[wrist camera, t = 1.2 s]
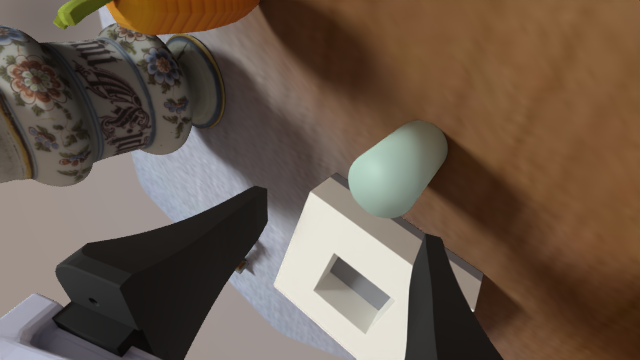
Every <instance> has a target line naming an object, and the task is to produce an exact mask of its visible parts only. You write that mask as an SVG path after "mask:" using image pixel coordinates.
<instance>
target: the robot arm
mask: <svg viewBox="0 0 640 360" xmlns="http://www.w3.org/2000/svg"><path fill="white" fill-rule="evenodd" d="M267 222H268V213H267V189H266V188H262V187H259V186H253V187H251V188H249V189H247V190H245V191H244V192H242V193H240V194H238V195H236V196H234V197H232V198H230V199H228V200H226V201H225V202H223V203H221V204H219V205H217V206H215V207H212V208H210V209H208V210H206V211H204V212H202V213H199V214H197V215H195V216H192V217H190V218H187V219H185V220H182V221H179V222H177V223H174V224H171V225H168V226H164V227H161V228H158V229H155V230H151V231H147V232H144V233H140V234H136V235H131V236H126V237H121V238H117V239H110V240H104V241H98V242H92V243H87V244H86V245H84V246H83V247H82V248H80V249H79V250H78V251H76V252H75V253H73V254H72V255H71V256H69V257H68V258H67V259H65V260H64V261H63V262H61V263H60V264H59V265H57V267H56V271H55V272H56V276H57V278H58V280H59V282H60V284H61V285H62V287H63V288H64V290H65V292H66V293H67V295H68V296H69V298H70V299H71V302H70V303H69V304H68V305H66V306H65V307H63V306H62V305H60V304H59V303H57V302H56V301H54V300H51V299H49V298H47V297H45V296H43V295H40V294H38V293H33V294H32V295H31V296H29V297H28V298H27V299H25V300H24V301H23V302H21V303H20V304H19V305H17V306H16V307H15V308H13V309H12V310H11V311H10V312H8V313H7V314H6V315H4V316H3V317H2V318H0V360H184V358H185V356H186V354H187V352H188V350H189V348H190V346H191V344H192V342H193V340H194V338H195V336H196V335H197V333H198V331H199V329H200V327H201V325H202V323H203V322H204V320H205V318H206V316H207V314H208V312H209V311H210V309H211V307H212V305H213V304H214V302H215V300H216V299H217V297H218V295H219V294H220V292H221V290H222V289H223V287H224V285H225V284H226V282H227V281H228V279H229V278H230V276H231V275H232V274H233V272H234V271H235V270H236V268H237V267H238V266H239V264H240V263H241V262H242V260H243V259H244V258H245V256H246V255H247V254H248V252H249V251H250V250H251V248H252V247H253V246H254V244H255V243H256V241H257V240H258V239H259V237H260V235H261V233H262V232H263V230H264V228H265V226H266V224H267ZM405 360H503V358H502V357H501V355H500V354H499V353H498V351H497V350H496V348H495V347H494V346H493V344H492V343H491V341H490V340H489V338H488V337H487V335H486V333H485V332H484V330H483V329H482V327H481V325H480V324H479V322H478V320H477V319H476V317H475V315H474V313H473V312H472V310H471V308H470V306H469V304H468V302H467V300H466V298H465V296H464V294H463V292H462V290H461V288H460V286H459V284H458V281H457V279H456V277H455V274H454V272H453V270H452V267H451V265H450V262H449V259H448V256H447V254H446V251H445V247H444V244H443V241H442V239H441V238H440V237H437V236H433V235H430V234H426V233H425V235H424V238H423V241H422V243H421V246H420V248H419V251H418V254H417V256H416V259H415V262H414V264H413V267H412V273H411V279H410V285H409V298H408V321H407V342H406V353H405Z"/></svg>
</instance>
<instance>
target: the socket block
mask: <svg viewBox="0 0 640 360" xmlns="http://www.w3.org/2000/svg"><path fill="white" fill-rule="evenodd" d="M424 235H425V233H423V232H422V231H420V230H419V229H417V228H416V227H414V226H413V225H412V224H410V223H409V222H407V221H406V220H404V219H403V218H401V217H400V216H399V217H396V218H381V217H377V216H375V215H372V214H370V213H369V212H367V211H366V210H364V209H363V208H362V207H361V206H360V205H359V204H358V203H357V202H356V200H355V199H354V197H353V195H352V193H351V191H350V188H349V183H348V181H347V180H346V179H344V178H343V177H341V176H340V175H339V174H337V173H335V174H334V175H332V176H331V177H329V178H328V179H327V180H325V181H324V182H323V183H321V184H320V185H318V186H317V187H316V188H314V189H313V190H311V191H310V194H309V196H308V199H307V201H306V204H305V206H304V209H303V211H302V214H301V216H300V219H299V222H298V224H297V227H296V229H295V232H294V234H293V237H292V239H291V242H290V245H289V247H288V250H287V252H286V255H285V257H284V260H283V262H282V265H281V267H280V270H279V273H278V275H277V278H276V280H275V283H274V285H273V286H275V287H276V288H277V289H278V290H279V291H280V292H281V293H282V294H284V295H285V296H286V297H287V298H288V299H289V300H290V301H292V302H293V303H294V304H295V305H296V306H297V307H298V308H299V309H301V310H302V311H303V312H304V313H305V314H306V315H307V316H309V317H310V318H311V319H312V320H313V321H314V322H315V323H316V324H318V325H319V326H320V327H321V328H322V329H323V330H324V331H326V332H327V333H328V334H329V335H330V336H331V337H332V338H333V339H335V340H336V341H337V342H338V343H339V344H340V345H341V346H342V347H344V348H345V349H346V350H347V351H348V352H349V353H350V354H352V355H353V356H354V357H355V358H356V359H357V360H405V353H406V342H407V321H408V298H409V285H410V279H411V273H412V267H413V264H414V262H415V259H416V256H417V254H418V251H419V248H420V246H421V243H422V241H423V238H424ZM445 251H446V254H447V256H448V259H449V262H450V265H451V267H452V270H453V272H454V274H455V277H456V279H457V281H458V284H459V286H460V288H461V290H462V292H463V294H464V296H465V298H466V300H467V302H468V304H469V306H470V308H471V310H472V312H473V311H474V310H475V306H476V302H477V298H478V294H479V290H480V286H481V282H482V277H483V273H482V272H480V271H479V270H477V269H476V268H474V267H473V266H471V265H470V264H469V263H467V262H466V261H464V260H463V259H461V258H460V257H458V256H457V255H455V254H454V253H452V252H451V251H450V250H448V249H447V248H445Z"/></svg>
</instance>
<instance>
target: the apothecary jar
mask: <svg viewBox="0 0 640 360" xmlns="http://www.w3.org/2000/svg"><path fill="white" fill-rule="evenodd" d="M224 106H225V93H224V86H223V81H222V77H221V74H220V72H219V69H218V67H217V64H216V62H215V61H214V59H213V57H212V55H211V54H210V52H209V51H208V50H207V49H206V48H205V46H204V45H203V44H202V43H201V42H199V41H198V40H197V39H195V38H194V37H192V36H190V35H188V34H176V35H174V36H172V37H171V38H170V39H169V40H168V41H167V42H166V44H164V42H163V41H161V40H160V39H159V38H158V37H157V36H156V35H147V34H143V33H139V32H136V31H133V30H130V29H127V28H124V27H121V26H120V25H119V24H118V23H115V24H112V25H109V26H108V27H106V28H105V29H104V30H102V31H101V32H100V34H99V35H98V36H97V38H96V39H95V40H85V41H75V42H50V43H38V42H37V41H36V40H35V39H33V38H32V37H30V36H29V35H27V34H26V33H24V32H22V31H20V30H17V29H14V28H12V27H8V26H1V25H0V183H3V182H8V181H12V180H25V179H33V180H36V181H38V182H41V183H43V184H47V185H51V186H59V187H63V186H70V185H74V184H76V183H79V182H81V181H82V180H84V179H85V178H86V177H87V176H88V174H89V173H90V171H91V169H92V165H93V163H94V162H97V161H99V160H102V159H105V158H108V157H111V156H115V155H119V154H122V153H126V152H130V151H134V150H138V149H140V150H142V151H145V152H147V153H151V154H156V155H165V154H169V153H172V152H174V151H176V150H178V149H179V148H180V147H181V146H182V145H183V144H184V143H185V142H186V140H187V138H188V136H189V133H190V131H191V127H192V125H193V126H195V127H198V128H211V127H213V126H215V125H216V124H217V123H218V122H219V121H220V119H221V117H222V115H223V111H224Z"/></svg>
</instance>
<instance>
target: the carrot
mask: <svg viewBox="0 0 640 360" xmlns="http://www.w3.org/2000/svg"><path fill="white" fill-rule="evenodd" d="M259 2H260V0H72V1H69V2H68V3H66V4H65V5H63V6H62V7H61V8H60V9H59V11H58V15H57V16H56V18H55V20H54V22H53V23H54V24H55V25H57V26H58V27H59V28H62V29H66V28H67V27H68V25H69V26H70V25H76V24H77V23H79V22H80V21H81V20H82V19H83V18H84V17H86V16H87V15H89V14H91V13H92V12H94V11H96V10H97V9H99V8H101V7H103V6H104V5H106V6H107V8H108V10H109V11H110V13H111V15H112V16H113V18H114V19H115V21H116V22H117V23H118V24H119V25H120V26H121V27H124V28H127V29H130V30H133V31H136V32H139V33H143V34H147V35H162V34H178V33H189V32H199V31H206V30H210V29H214V28H218V27H222V26H225V25H228V24H231V23H234V22H236V21H238V20H239V19H241V18H243V17H244V16H246V15H247V14H248V13H249V12H251V11H252V10H253V9H254V8H255V7H256V6H257V5H258V3H259Z"/></svg>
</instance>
